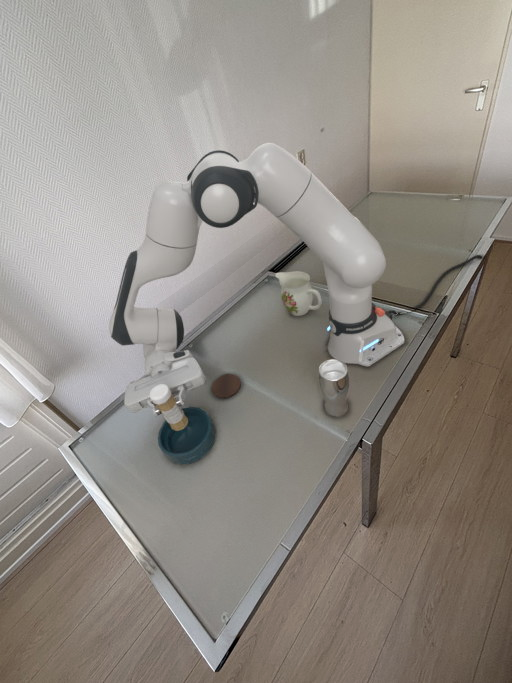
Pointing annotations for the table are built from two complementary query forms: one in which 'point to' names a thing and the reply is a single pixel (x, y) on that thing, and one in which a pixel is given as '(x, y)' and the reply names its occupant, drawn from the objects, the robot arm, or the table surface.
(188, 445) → the bowl
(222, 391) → the coaster
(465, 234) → the table surface
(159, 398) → the sprinkles bottle
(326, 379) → the silver metal tumbler
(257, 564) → the table surface
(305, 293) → the pitcher
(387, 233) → the table surface
